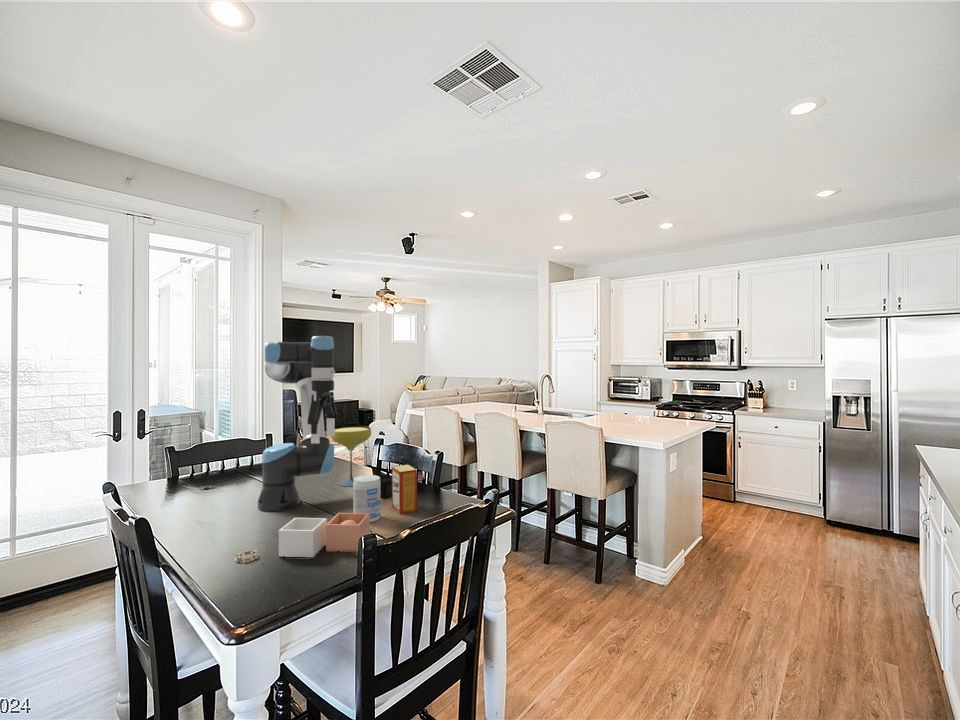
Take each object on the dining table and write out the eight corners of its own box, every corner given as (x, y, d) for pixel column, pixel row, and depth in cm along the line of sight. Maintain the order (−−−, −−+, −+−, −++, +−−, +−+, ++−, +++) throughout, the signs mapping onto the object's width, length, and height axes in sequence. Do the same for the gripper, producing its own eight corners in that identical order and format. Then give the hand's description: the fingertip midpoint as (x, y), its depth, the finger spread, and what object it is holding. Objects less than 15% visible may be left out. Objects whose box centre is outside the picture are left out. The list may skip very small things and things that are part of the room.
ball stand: (230, 563, 130) (230, 558, 130) (243, 553, 136) (243, 548, 136) (252, 563, 129) (251, 559, 129) (264, 553, 136) (263, 549, 136)
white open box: (278, 557, 133) (278, 530, 133) (295, 543, 143) (294, 517, 143) (313, 558, 133) (312, 531, 133) (327, 543, 143) (326, 518, 143)
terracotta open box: (326, 551, 138) (325, 524, 137) (338, 537, 148) (338, 512, 148) (359, 552, 137) (359, 525, 137) (369, 538, 147) (369, 513, 147)
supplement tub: (371, 525, 158) (371, 482, 158) (347, 522, 161) (347, 480, 161) (385, 515, 168) (385, 475, 167) (362, 513, 170) (362, 473, 170)
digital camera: (386, 500, 186) (386, 483, 185) (377, 497, 189) (377, 480, 189) (405, 493, 194) (405, 477, 194) (396, 491, 197) (396, 475, 197)
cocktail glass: (341, 477, 220) (340, 425, 219) (377, 478, 217) (377, 425, 217) (323, 488, 202) (322, 431, 201) (362, 489, 199) (362, 432, 199)
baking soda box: (392, 507, 177) (391, 465, 177) (408, 504, 180) (407, 463, 180) (400, 514, 169) (400, 471, 169) (417, 511, 172) (416, 468, 172)
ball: (333, 547, 139) (333, 524, 139) (341, 537, 146) (341, 516, 146) (356, 548, 139) (355, 525, 138) (363, 538, 146) (363, 516, 145)
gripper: (318, 381, 150) (319, 446, 150) (345, 377, 175) (346, 433, 175) (296, 381, 150) (296, 446, 151) (326, 377, 175) (326, 433, 175)
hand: (323, 439), depth 163 cm, fingers open, 13 cm apart
